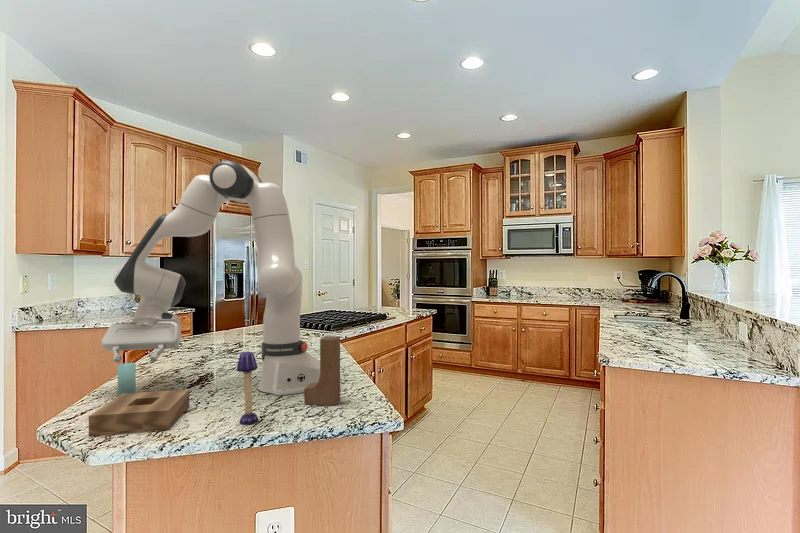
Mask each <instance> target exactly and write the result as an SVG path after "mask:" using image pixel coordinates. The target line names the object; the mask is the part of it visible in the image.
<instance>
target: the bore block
mask: <svg viewBox="0 0 800 533" xmlns="http://www.w3.org/2000/svg"><path fill="white" fill-rule="evenodd" d="M189 407H190V389H176V390H175V389H173V390H161V391H160V390H158V391H144V392H136V393H126V394H121V395H120V396H118V395H117V397H115V398H114V399H112V400H111V401H109V402H108V403H106V404H104V405H103V406H101V407H100V408H99V409H97V410H95V411H94V412H92V413H91V414H89V415H88V437H94V436H95V437H96V436H98V435H99V436H109V434H111V435H123V434H135V433H143V432H144V433H145V432H147V433H148V432H159V431H160V432H161V431H169V430H170V429H171V428H172V426H173V425H174V424H175V423H176V422H177V421H178V420H179V418H180V417H182V415H183V414H184V413H185V412H186V411H187V409H189ZM99 436H98V437H99Z"/></svg>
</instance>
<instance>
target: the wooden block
mask: <svg viewBox="0 0 800 533" xmlns="http://www.w3.org/2000/svg"><path fill="white" fill-rule="evenodd" d="M319 353H320V355H319V361H320V378H319V382H318V383H311V384H309V385H308V386H307V387H305V388H304V392H303V397H304V399H303V401H304V403H303V404H304V405H313V406H315V405H316V406H337V405H338V403H339V402H340V401H341V337H340V336H339V335H337V336H335V335H331V336H330V335H326V336H323V337H321V338H320V339H319Z"/></svg>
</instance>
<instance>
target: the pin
mask: <svg viewBox="0 0 800 533" xmlns="http://www.w3.org/2000/svg"><path fill="white" fill-rule="evenodd" d="M136 374H137V373H136V362H124V363H119V364H117V397H118V396H120V395H121V394H126V393H137V392H136V386H137V384H136V382H137V381H136Z"/></svg>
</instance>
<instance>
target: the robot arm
mask: <svg viewBox="0 0 800 533" xmlns="http://www.w3.org/2000/svg"><path fill="white" fill-rule="evenodd" d="M226 202H230V203H233V204H234V203H235V204H241V205H249V209H250V212H251V217H252V218H251V219H252V223H253V225H252V226H253V228H254V229H253V230H254V236H255V241H256V250H257V252H256V253H257V254H256V257H257V258H256V260H257V261H256V263H257V276H258V277H257V282H258V283H257V284H258V286H259V289H260V290H261V291H262V292H263V293H264V295H266V299H265V307H264V312H263V317H262V318H263V319H262V324H263V326H262V328H263V330H262V332H263V333H262V334H263V335H262V336H263V339H262V342H261V345H260V346H261V352H260V353H261V360H262V362H261V363H262V364H261V365H262V366H261V373H260V378H259V383H258V385H257V390H258V391H261V392H263V393H269V394H273V395H275V396H284V395H285V396H286V395H292V394H293V395H294V394H301V393H304V388H305V387H307V386H308V385H309V384H311V383H318V382H319V378H320V359H317V358H316V357H315V356H313V355H311V354H310V353H309V352H307V350H308V349H309V345H308V343H307V341H304V340H301V308H302V296H303V295H302V293H303V292H302V291H303V274H302V271H301V270H300V268H299V267H298V266H297V265H296V260H295V249H294V248H295V247H294V243H295V242H294V241H295V240H294V237H293V236H294V235H293V230H292V224H291V218H290V213H289V207H288V204H287V201H286V197H285V194H284V192H283V190H282V188H281V187H280V185H278V184H277V183H273V182H262V180H261V178H260V177H259V176H258V175H257V174H256V173H254V172H252V170H251V169H249V168H248V167H246V166H244V165H243V164H240V163H238V162H236V161H232V160H222V161H219V162H217V163H215V165H214V164H213V167H212V168H211V169H210V172H209V175H208V174H198V175H195V176H194V177H193V178H192V180H191V181H190V182H189V184H188V185H187V187H186V188H185V190H184V193H182V196H181V198H180V200H179V202H178V204H177V205H176V207H175V208H174V209H173V210H172V211H171V212H170V213H165V214H161V215H160V216H158V217H157V218H156V220H155V221H154V222H153V223H152V225H151V226H150V228H149V229H148V230H147V231H146V233H145V234H144V236H142V239H141V240H140V241H139V243H138V244H137V245H136V247H135V248H134V250H133V251H132V253H131V255H130V256H129V257H128V258H127V259H126V260H125V261H124V262H123V263H122V264H121V265H120V267H119V268H118V269H117V271H116V273H115V275H114V280H113V281H114V284H115V286H116V287H117V288H118V290H119V291H120V292H121V293H125V294H131V295H137V296H141V297H140V300H139V305H138V306H137V308H136V310H135V312H134V315H133V317H132V320H131V321H125V322H122V321H116V322H115V323H113V324H111V325H109V326H108V328H107V331H106V333H105V334H104V335H103V337H102V339H101V342H100V344H101V346H102V348H103V349H104V350H105V351H107V352H113V354H114V356H113V359H112V360H113V361H112V362H114V363H121V362H122V360H123V356H122V354H121V352H122V351H139V350H140V351H142V350H144V351H145V350H156V351H154V352H151V354H150V358H149V359H150V360H151V362H153V361H155V362H156V361H158V359H159V357H160V356H161V355H162V354H163V353H164V352H165V350H166V349H177V348H178V347H179V346H180V345H181V341H182V331H181V329H182V324H181V321H180V319H179V317H178V315H177V314H176V313H172V312H169V310H170V309H171V308H172V307H174V306H176V305H177V304H179V303H180V302H181V300H182V298H183V295H184V290H185V287H186V284H187V282H186V280H185V278H184V276H183V275H182V274H180V273H178V272H174V271H172V270H168V269H164V268H161V267H159V266H155V265H151V264H148V263H147V262H146V259H148V257H149V256H150V254H151V253H152V251H153V250H154V248H155V247H156V245H157V244H158V243H159V242H160V241H161V240H164V239H165V238H169V237H170V238H171V237H180V238H183V237H186V238H193V237H198V236H202V235H204V234H207V233H208V231H210V229H211V228H212V226H213V225H214V223H215V220H216V218H217V215H218V214H219V212H220V209H221V207H222V206H223V204H225V203H226Z"/></svg>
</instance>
